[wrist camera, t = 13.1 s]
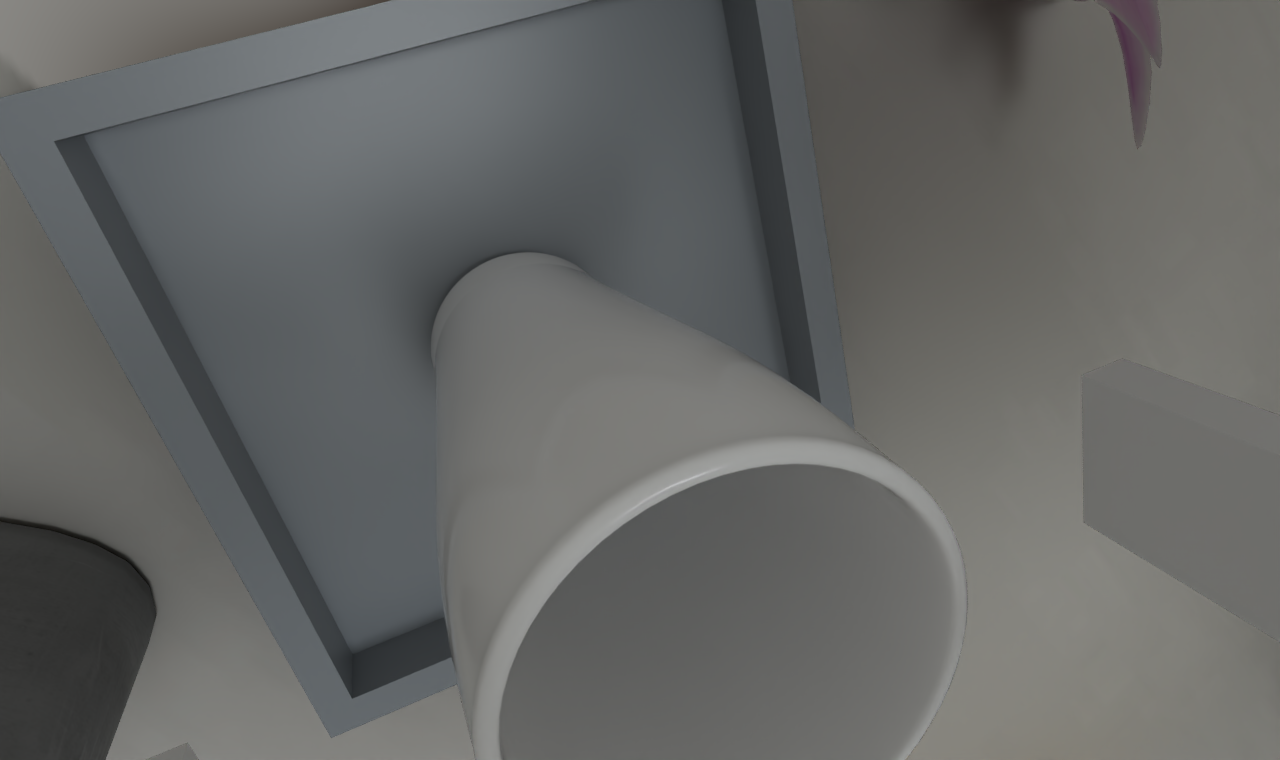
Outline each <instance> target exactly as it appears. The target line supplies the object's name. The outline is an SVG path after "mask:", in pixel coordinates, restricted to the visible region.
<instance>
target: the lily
mask: <svg viewBox="0 0 1280 760" xmlns="http://www.w3.org/2000/svg"><path fill="white" fill-rule="evenodd" d="M1074 1H1086V0H1074ZM1094 1H1096V2H1097V3H1099V4H1100V5H1101V6H1103V7H1104V8H1106V9H1107V10H1108V11H1109V13H1110V15H1111V17H1112V19H1113V21H1114V25H1115V28H1116V32H1117V35H1118V38H1119V42H1120V45H1121V49H1122V53H1123V59H1124V65H1125V71H1126V77H1127V83H1128V90H1129V99H1130V107H1131V115H1132V123H1133V131H1134V138H1135V142H1136V146H1137V149H1138V148H1139V147H1140V146H1141V144H1142V141H1143V137H1144V133H1145V129H1146V123H1147V117H1148V111H1149V104H1150V90H1151V74H1152V71H1151V61H1150V55H1151V57H1152V58H1153V60H1154V61H1155V62H1156V64H1157V66H1158V67H1159V68H1160V66H1161V56H1162V44H1161V27H1160V18H1159V11H1158V4H1157V0H1094Z"/></svg>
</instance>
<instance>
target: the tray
mask: <svg viewBox="0 0 1280 760" xmlns="http://www.w3.org/2000/svg"><path fill="white" fill-rule="evenodd" d="M0 153H1V155H2V157H3V159H4V161H5V162H6V164H7V166H8V168H9V169H10V171H11V173H12V175H13V176H14V178H15V180H16V182H17V184H18V185H19V187H20V189H21V191H22V192H23V194H24V196H25V198H26V199H27V201H28V203H29V205H30V207H31V208H32V210H33V212H34V214H35V215H36V217H37V219H38V221H39V222H40V224H41V226H42V228H43V229H44V231H45V233H46V235H47V237H48V238H49V240H50V242H51V244H52V245H53V247H54V249H55V251H56V252H57V254H58V256H59V258H60V260H61V261H62V263H63V265H64V267H65V268H66V270H67V272H68V274H69V275H70V277H71V279H72V281H73V283H74V284H75V286H76V288H77V290H78V291H79V293H80V295H81V297H82V298H83V300H84V302H85V304H86V306H87V307H88V309H89V311H90V313H91V314H92V316H93V318H94V320H95V321H96V323H97V325H98V327H99V328H100V330H101V332H102V334H103V336H104V337H105V339H106V341H107V343H108V344H109V346H110V348H111V350H112V351H113V353H114V355H115V357H116V359H117V360H118V362H119V364H120V366H121V367H122V369H123V371H124V373H125V374H126V376H127V378H128V380H129V382H130V383H131V385H132V387H133V389H134V390H135V392H136V394H137V396H138V397H139V399H140V401H141V403H142V404H143V406H144V408H145V410H146V412H147V413H148V415H149V417H150V419H151V420H152V422H153V424H154V426H155V427H156V429H157V431H158V433H159V435H160V436H161V438H162V440H163V442H164V443H165V445H166V447H167V449H168V450H169V452H170V454H171V456H172V458H173V459H174V461H175V463H176V465H177V466H178V468H179V470H180V472H181V473H182V475H183V477H184V479H185V480H186V482H187V484H188V486H189V488H190V489H191V491H192V493H193V495H194V496H195V498H196V500H197V502H198V503H199V505H200V507H201V509H202V511H203V512H204V514H205V516H206V518H207V519H208V521H209V523H210V525H211V526H212V528H213V530H214V532H215V534H216V535H217V537H218V539H219V541H220V542H221V544H222V546H223V548H224V549H225V551H226V553H227V555H228V557H229V558H230V560H231V562H232V564H233V565H234V567H235V569H236V571H237V572H238V574H239V576H240V578H241V579H242V581H243V583H244V585H245V587H246V588H247V590H248V592H249V594H250V595H251V597H252V599H253V601H254V602H255V604H256V606H257V608H258V610H259V611H260V613H261V615H262V617H263V618H264V620H265V622H266V624H267V625H268V627H269V629H270V631H271V633H272V634H273V636H274V638H275V640H276V641H277V643H278V645H279V647H280V648H281V650H282V652H283V654H284V655H285V657H286V659H287V661H288V663H289V664H290V666H291V668H292V670H293V671H294V673H295V675H296V677H297V678H298V680H299V682H300V684H301V686H302V687H303V689H304V691H305V693H306V694H307V696H308V698H309V700H310V701H311V703H312V705H313V707H314V709H315V710H316V712H317V714H318V716H319V717H320V719H321V721H322V723H323V724H324V726H325V728H326V730H327V731H328V733H329V735H330V737H331V738H332V737H335V736H337V735H339V734H342V733H344V732H346V731H349V730H351V729H353V728H356V727H358V726H360V725H363V724H365V723H367V722H370V721H372V720H374V719H377V718H379V717H381V716H384V715H386V714H388V713H391V712H393V711H395V710H398V709H400V708H402V707H405V706H407V705H409V704H412V703H414V702H416V701H419V700H421V699H423V698H426V697H428V696H430V695H433V694H435V693H437V692H440V691H442V690H444V689H447V688H449V687H451V686H454V685H456V684H457V681H456V676H455V672H454V667H453V663H452V658H451V653H450V648H449V643H448V637H447V632H446V626H445V620H444V613H443V606H442V599H441V591H440V581H439V571H438V561H437V549H436V525H435V474H436V395H435V377H434V372H433V368H432V363H431V353H430V343H431V333H432V328H433V324H434V321H435V318H436V315H437V312H438V310H439V308H440V306H441V304H442V302H443V300H444V299H445V297H446V296H447V294H448V293H449V291H450V290H451V289H452V288H453V286H454V285H455V284H456V283H457V282H458V281H459V280H460V279H461V278H462V277H463V276H464V275H466V274H467V273H468V272H470V271H471V270H472V269H474V268H476V267H477V266H479V265H480V264H482V263H484V262H487V261H489V260H491V259H494V258H496V257H499V256H503V255H507V254H512V253H520V252H537V253H545V254H550V255H554V256H557V257H560V258H563V259H566V260H568V261H570V262H572V263H574V264H576V265H577V266H579V267H581V268H582V269H584V270H585V271H586V272H588V273H589V274H590V275H592V276H593V277H594V278H595V279H597V280H599V281H600V282H602V283H604V284H606V285H608V286H610V287H612V288H614V289H616V290H618V291H620V292H622V293H624V294H626V295H628V296H630V297H632V298H634V299H636V300H638V301H640V302H643V303H645V304H647V305H649V306H651V307H653V308H655V309H657V310H659V311H661V312H663V313H665V314H667V315H670V316H672V317H674V318H676V319H678V320H680V321H682V322H684V323H686V324H688V325H690V326H693V327H695V328H697V329H699V330H701V331H703V332H705V333H707V334H709V335H711V336H713V337H715V338H717V339H719V340H721V341H723V342H725V343H727V344H729V345H731V346H733V347H734V348H736V349H738V350H740V351H742V352H743V353H745V354H747V355H748V356H750V357H752V358H753V359H755V360H757V361H758V362H760V363H762V364H763V365H765V366H766V367H768V368H770V369H771V370H773V371H775V372H776V373H778V374H779V375H781V376H782V377H784V378H785V379H787V380H788V381H790V382H791V383H793V384H794V385H796V386H797V387H799V388H800V389H801V390H803V391H804V392H806V393H807V394H808V395H810V396H811V397H813V398H814V399H815V400H817V401H818V402H819V403H821V404H822V405H823V406H825V407H826V408H827V409H829V410H830V411H831V412H833V413H834V414H835V415H836V416H838V417H839V418H840V419H841V420H843V421H844V422H845V423H847V424H848V425H849V426H850V427H852V428H853V429H854V430H855V428H854V421H853V414H852V407H851V400H850V394H849V387H848V380H847V373H846V366H845V359H844V352H843V345H842V339H841V332H840V325H839V318H838V311H837V304H836V297H835V290H834V284H833V277H832V270H831V263H830V256H829V249H828V242H827V235H826V229H825V222H824V215H823V208H822V201H821V194H820V187H819V180H818V174H817V167H816V160H815V153H814V146H813V139H812V132H811V125H810V119H809V112H808V105H807V98H806V91H805V84H804V77H803V70H802V64H801V57H800V50H799V43H798V36H797V29H796V22H795V15H794V9H793V2H792V0H392V1H388V2H384V3H380V4H376V5H372V6H368V7H364V8H359V9H355V10H351V11H348V12H343V13H340V14H335V15H331V16H327V17H323V18H320V19H315V20H311V21H307V22H303V23H299V24H296V25H291V26H287V27H283V28H279V29H275V30H271V31H267V32H263V33H259V34H255V35H251V36H247V37H243V38H239V39H235V40H231V41H227V42H223V43H219V44H215V45H211V46H207V47H203V48H199V49H194V50H190V51H187V52H182V53H178V54H174V55H170V56H166V57H162V58H158V59H154V60H150V61H146V62H142V63H138V64H134V65H130V66H126V67H122V68H118V69H114V70H110V71H106V72H102V73H98V74H94V75H90V76H86V77H82V78H78V79H74V80H70V81H66V82H62V83H58V84H54V85H50V86H46V87H42V88H38V89H34V90H29V91H25V92H21V93H17V94H13V95H9V96H5V97H1V98H0Z"/></svg>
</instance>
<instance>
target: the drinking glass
mask: <svg viewBox="0 0 1280 760" xmlns="http://www.w3.org/2000/svg"><path fill="white" fill-rule="evenodd" d="M430 353H431V363H432V368H433V372H434V377H435V395H436V474H435V525H436V549H437V561H438V571H439V581H440V591H441V599H442V606H443V613H444V620H445V626H446V632H447V637H448V643H449V648H450V653H451V658H452V663H453V667H454V672H455V676H456V681H457V685H458V689H459V694H460V698H461V703H462V707H463V711H464V715H465V719H466V723H467V727H468V731H469V735H470V739H471V743H472V747H473V752H474V757H475V760H906V759H907V758H908V757H909V755H910V754H911V753H912V751H913V750H914V748H915V747H916V746H917V744H918V743H919V742H920V740H921V739H922V737H923V736H924V734H925V732H926V731H927V729H928V728H929V726H930V724H931V723H932V721H933V719H934V717H935V716H936V714H937V712H938V710H939V708H940V706H941V704H942V702H943V700H944V698H945V696H946V694H947V691H948V689H949V687H950V685H951V682H952V679H953V676H954V674H955V671H956V668H957V665H958V662H959V658H960V654H961V650H962V646H963V642H964V636H965V630H966V623H967V610H968V590H967V579H966V571H965V565H964V561H963V557H962V553H961V549H960V546H959V544H958V541H957V538H956V536H955V533H954V531H953V529H952V527H951V525H950V523H949V521H948V519H947V518H946V516H945V514H944V512H943V511H942V509H941V508H940V507H939V505H938V504H937V502H936V501H935V500H934V498H933V497H932V496H931V494H930V493H929V492H928V491H927V490H926V489H925V488H924V487H923V486H922V485H921V484H920V483H919V482H918V481H917V480H916V479H915V478H913V477H912V476H911V475H910V474H908V473H907V472H906V471H905V470H903V469H902V468H901V467H899V466H898V465H897V464H895V463H894V462H893V461H892V460H891V459H889V458H888V457H887V456H886V455H885V454H883V453H882V452H881V451H880V450H879V449H878V448H876V447H875V446H874V445H873V444H871V443H870V442H869V441H868V440H867V439H865V438H864V437H863V436H862V435H860V434H859V433H858V432H857V431H855V430H854V429H853V428H852V427H850V426H849V425H848V424H847V423H845V422H844V421H843V420H841V419H840V418H839V417H838V416H836V415H835V414H834V413H833V412H831V411H830V410H829V409H827V408H826V407H825V406H823V405H822V404H821V403H819V402H818V401H817V400H815V399H814V398H813V397H811V396H810V395H808V394H807V393H806V392H804V391H803V390H801V389H800V388H799V387H797V386H796V385H794V384H793V383H791V382H790V381H788V380H787V379H785V378H784V377H782V376H781V375H779V374H778V373H776V372H775V371H773V370H771V369H770V368H768V367H766V366H765V365H763V364H762V363H760V362H758V361H757V360H755V359H753V358H752V357H750V356H748V355H747V354H745V353H743V352H742V351H740V350H738V349H736V348H734V347H733V346H731V345H729V344H727V343H725V342H723V341H721V340H719V339H717V338H715V337H713V336H711V335H709V334H707V333H705V332H703V331H701V330H699V329H697V328H695V327H693V326H690V325H688V324H686V323H684V322H682V321H680V320H678V319H676V318H674V317H672V316H670V315H667V314H665V313H663V312H661V311H659V310H657V309H655V308H653V307H651V306H649V305H647V304H645V303H643V302H640V301H638V300H636V299H634V298H632V297H630V296H628V295H626V294H624V293H622V292H620V291H618V290H616V289H614V288H612V287H610V286H608V285H606V284H604V283H602V282H600V281H599V280H597V279H595V278H594V277H593V276H592V275H590V274H589V273H588V272H586V271H585V270H584V269H582V268H581V267H579V266H577V265H576V264H574V263H572V262H570V261H568V260H566V259H563V258H560V257H557V256H554V255H550V254H545V253H537V252H520V253H512V254H507V255H503V256H499V257H496V258H494V259H491V260H489V261H487V262H484V263H482V264H480V265H479V266H477V267H476V268H474V269H472V270H471V271H470V272H468V273H467V274H466V275H464V276H463V277H462V278H461V279H460V280H459V281H458V282H457V283H456V284H455V285H454V286H453V288H452V289H451V290H450V291H449V293H448V294H447V296H446V297H445V299H444V300H443V302H442V304H441V306H440V308H439V310H438V312H437V315H436V318H435V321H434V324H433V328H432V333H431V343H430Z"/></svg>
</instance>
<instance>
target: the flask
mask: <svg viewBox="0 0 1280 760" xmlns="http://www.w3.org/2000/svg"><path fill="white" fill-rule="evenodd" d="M155 618H156V611H155V607H154V603H153V599H152V595H151V591H150V587H149V585H148V584H147V583H146V582H145V581H144V580H143V579H142V577H141V576H140V575H139V574H138V573H137V572H136V570H135V569H134V568H133V567H132V566H131V565H130V564H129V562H127V561H125V560H123V559H121V558H119V557H118V556H116V555H114V554H112V553H110V552H108V551H106V550H105V549H103V548H101V547H99V546H97V545H95V544H92V543H89V542H86V541H83V540H80V539H76V538H73V537H70V536H67V535H64V534H61V533H58V532H55V531H51V530H45V529H39V528H33V527H28V526H22V525H16V524H10V523H5V522H0V760H105V759H106V757H107V754H108V751H109V749H110V746H111V743H112V741H113V738H114V735H115V733H116V730H117V727H118V724H119V722H120V719H121V716H122V714H123V711H124V708H125V706H126V703H127V700H128V698H129V695H130V692H131V690H132V687H133V684H134V682H135V679H136V676H137V673H138V671H139V668H140V665H141V663H142V660H143V657H144V655H145V652H146V649H147V647H148V644H149V640H150V637H151V633H152V629H153V626H154V622H155Z"/></svg>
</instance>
